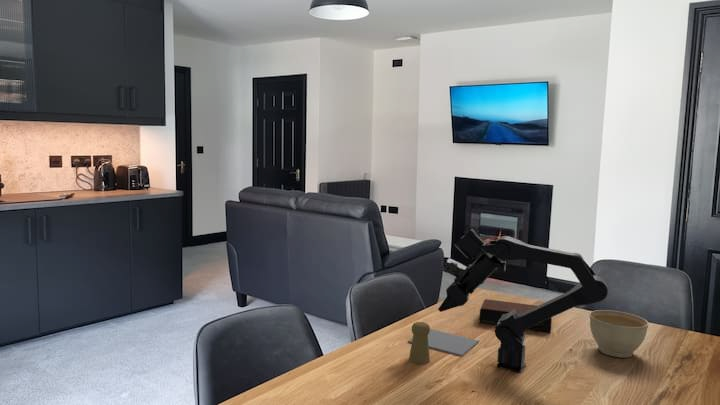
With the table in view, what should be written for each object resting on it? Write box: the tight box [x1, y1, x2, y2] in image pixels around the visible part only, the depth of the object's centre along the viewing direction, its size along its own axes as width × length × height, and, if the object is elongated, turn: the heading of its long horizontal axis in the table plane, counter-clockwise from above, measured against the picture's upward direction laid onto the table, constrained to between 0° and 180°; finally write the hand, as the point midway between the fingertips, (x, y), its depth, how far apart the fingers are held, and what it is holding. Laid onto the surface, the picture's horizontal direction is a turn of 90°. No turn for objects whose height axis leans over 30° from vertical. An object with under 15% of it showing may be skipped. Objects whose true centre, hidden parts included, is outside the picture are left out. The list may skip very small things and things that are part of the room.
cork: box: [408, 321, 431, 365], centre depth 151 cm, size 6×6×11 cm
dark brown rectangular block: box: [478, 298, 553, 334], centre depth 185 cm, size 24×12×6 cm, turn 70°
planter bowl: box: [589, 309, 649, 358], centre depth 161 cm, size 16×16×11 cm
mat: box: [407, 328, 480, 357], centre depth 165 cm, size 18×14×1 cm
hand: (442, 306), depth 154 cm, fingers open, 9 cm apart
